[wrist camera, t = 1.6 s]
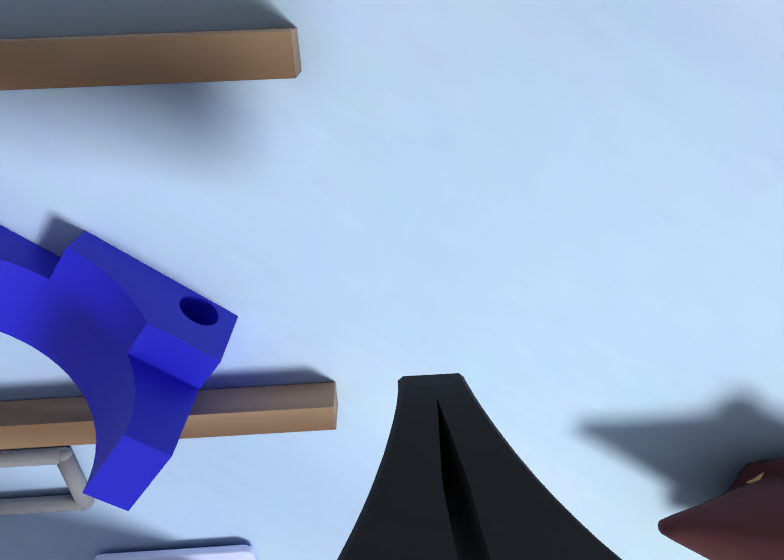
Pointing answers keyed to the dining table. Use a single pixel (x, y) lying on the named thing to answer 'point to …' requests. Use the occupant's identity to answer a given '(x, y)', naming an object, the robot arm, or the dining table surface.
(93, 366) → the cable clip
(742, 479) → the icecream
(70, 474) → the cord loop
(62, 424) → the guide lane
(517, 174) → the dining table surface
